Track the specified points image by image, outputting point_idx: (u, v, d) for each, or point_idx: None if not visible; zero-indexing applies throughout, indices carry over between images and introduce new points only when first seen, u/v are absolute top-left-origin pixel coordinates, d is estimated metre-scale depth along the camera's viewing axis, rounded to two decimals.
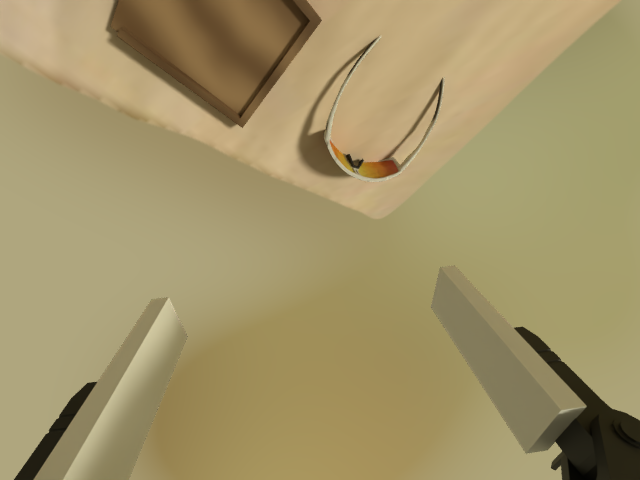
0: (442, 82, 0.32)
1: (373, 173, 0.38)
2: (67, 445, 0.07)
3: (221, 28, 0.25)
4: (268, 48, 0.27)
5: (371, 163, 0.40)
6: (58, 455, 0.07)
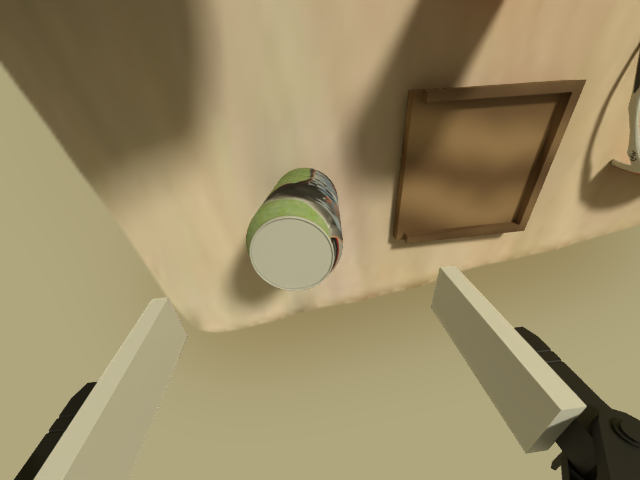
0: None
1: None
2: (67, 445, 0.07)
3: (478, 172, 0.25)
4: (527, 149, 0.24)
5: None
6: (58, 455, 0.07)
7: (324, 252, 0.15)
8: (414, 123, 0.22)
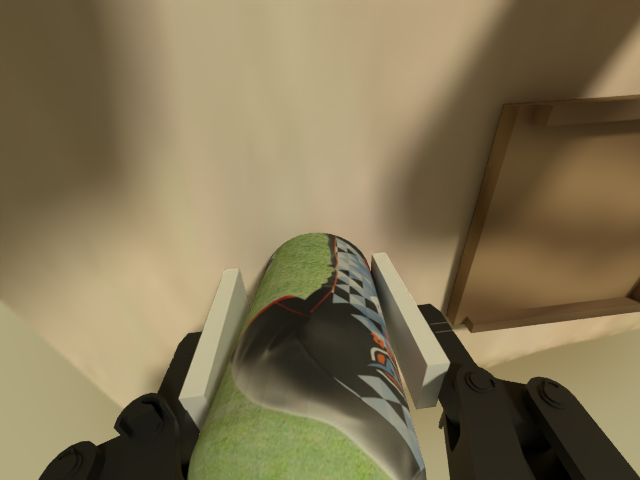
0: None
1: None
2: (197, 371, 0.09)
3: (596, 232, 0.15)
4: None
5: None
6: (193, 377, 0.08)
7: None
8: (510, 160, 0.13)
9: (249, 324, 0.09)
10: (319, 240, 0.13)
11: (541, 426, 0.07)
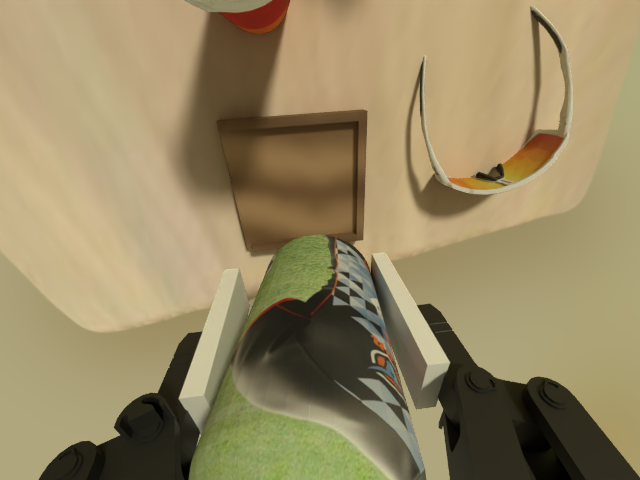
0: (535, 11, 0.23)
1: (529, 166, 0.28)
2: (197, 371, 0.09)
3: (303, 188, 0.28)
4: (342, 168, 0.27)
5: (513, 158, 0.29)
6: (193, 377, 0.08)
7: None
8: (227, 148, 0.25)
9: (249, 326, 0.09)
10: (319, 242, 0.13)
11: (541, 426, 0.07)
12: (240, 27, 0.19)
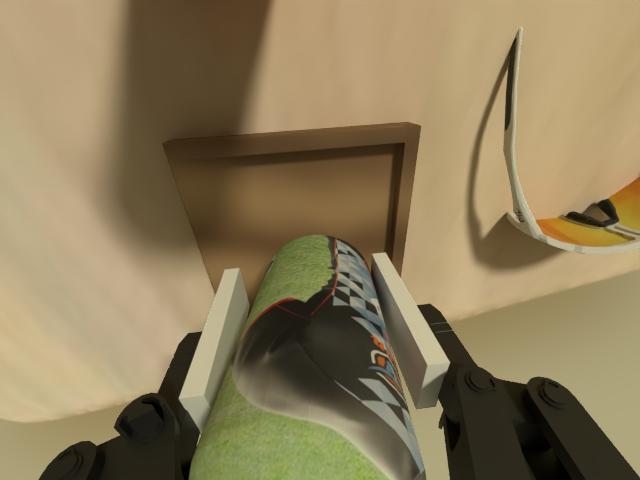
0: None
1: None
2: (197, 371, 0.09)
3: None
4: (371, 214, 0.17)
5: (625, 190, 0.20)
6: (193, 377, 0.08)
7: None
8: (184, 185, 0.15)
9: (250, 326, 0.09)
10: (319, 242, 0.13)
11: (541, 426, 0.07)
12: None
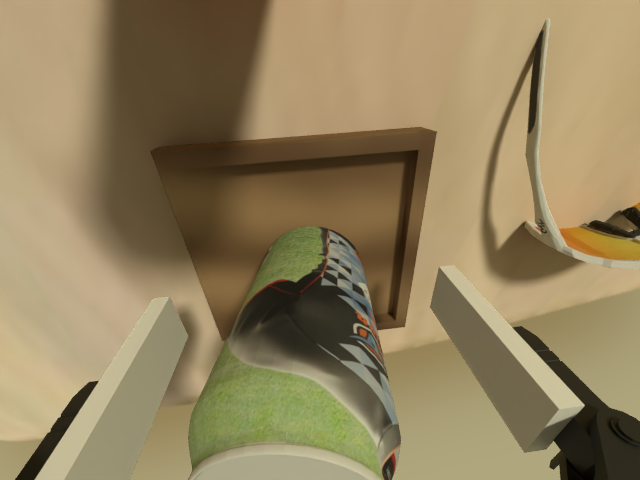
0: None
1: None
2: (69, 444, 0.07)
3: None
4: (379, 226, 0.16)
5: None
6: (60, 454, 0.07)
7: None
8: (175, 197, 0.14)
9: (245, 305, 0.10)
10: (312, 232, 0.14)
11: None
12: None
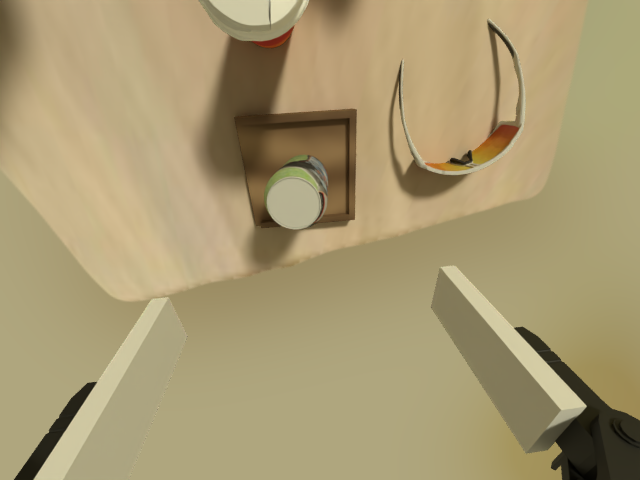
0: (491, 24, 0.28)
1: (492, 152, 0.33)
2: (67, 445, 0.07)
3: None
4: (336, 158, 0.33)
5: (481, 146, 0.35)
6: (58, 455, 0.07)
7: (314, 201, 0.23)
8: (242, 139, 0.31)
9: None
10: (303, 155, 0.31)
11: None
12: None
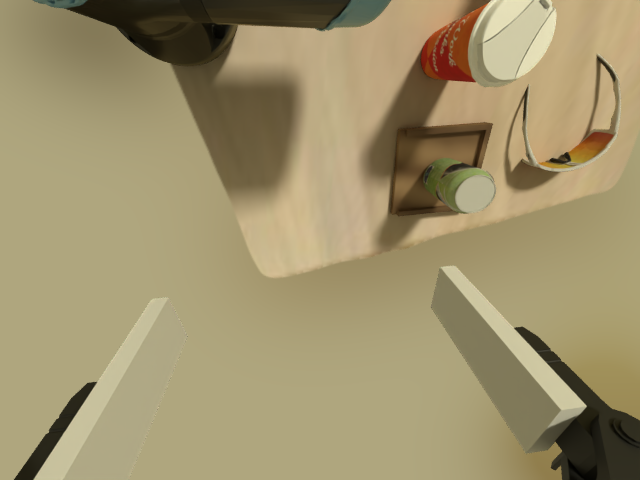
0: (599, 57, 0.37)
1: (588, 153, 0.42)
2: (67, 445, 0.07)
3: None
4: (466, 160, 0.42)
5: (575, 148, 0.44)
6: (58, 455, 0.07)
7: (491, 192, 0.32)
8: (401, 146, 0.40)
9: (445, 170, 0.36)
10: (448, 158, 0.40)
11: None
12: (438, 78, 0.34)
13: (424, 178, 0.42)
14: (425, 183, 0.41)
